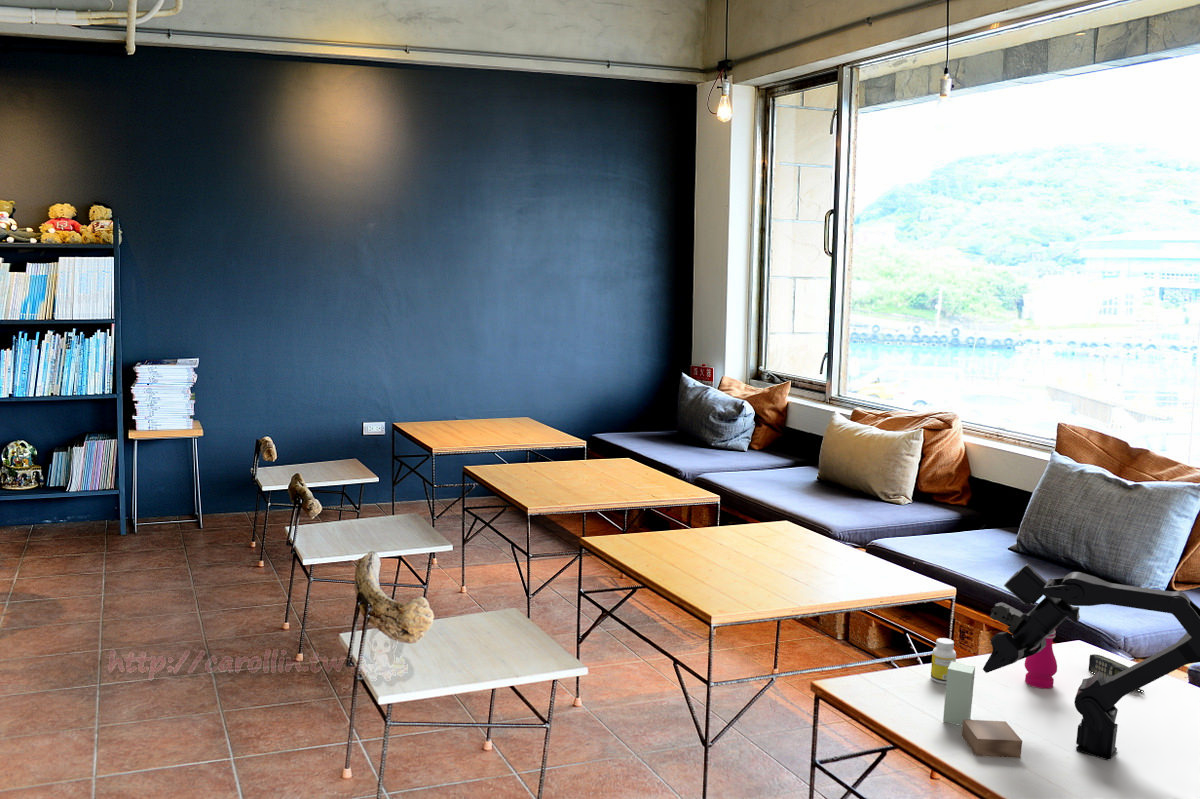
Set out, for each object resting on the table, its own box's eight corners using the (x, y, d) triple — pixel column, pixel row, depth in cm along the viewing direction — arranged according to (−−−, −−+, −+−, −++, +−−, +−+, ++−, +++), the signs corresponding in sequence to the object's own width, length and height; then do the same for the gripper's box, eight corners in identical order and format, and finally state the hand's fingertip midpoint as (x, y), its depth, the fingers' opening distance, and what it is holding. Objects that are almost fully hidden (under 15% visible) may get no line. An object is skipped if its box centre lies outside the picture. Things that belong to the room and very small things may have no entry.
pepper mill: (1027, 675, 255) (1035, 596, 252) (1058, 683, 251) (1066, 603, 248) (1019, 684, 249) (1027, 603, 246) (1051, 692, 245) (1059, 610, 242)
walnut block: (1004, 739, 219) (1005, 721, 219) (1020, 759, 210) (1022, 740, 210) (961, 737, 219) (962, 719, 219) (975, 757, 210) (977, 738, 210)
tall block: (970, 718, 228) (975, 666, 227) (967, 726, 224) (972, 673, 222) (946, 713, 230) (951, 661, 229) (943, 721, 226) (947, 668, 224)
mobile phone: (1087, 653, 259) (1139, 674, 245) (1096, 651, 260) (1148, 673, 246) (1086, 672, 259) (1137, 694, 246) (1094, 671, 261) (1146, 693, 247)
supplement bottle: (935, 673, 253) (938, 635, 252) (957, 680, 250) (961, 640, 249) (926, 680, 249) (930, 640, 248) (948, 686, 246) (952, 646, 244)
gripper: (1028, 586, 229) (980, 633, 235) (998, 595, 215) (948, 644, 221) (1068, 625, 224) (1017, 672, 230) (1039, 636, 209) (987, 686, 216)
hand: (992, 667), depth 224 cm, fingers open, 9 cm apart
